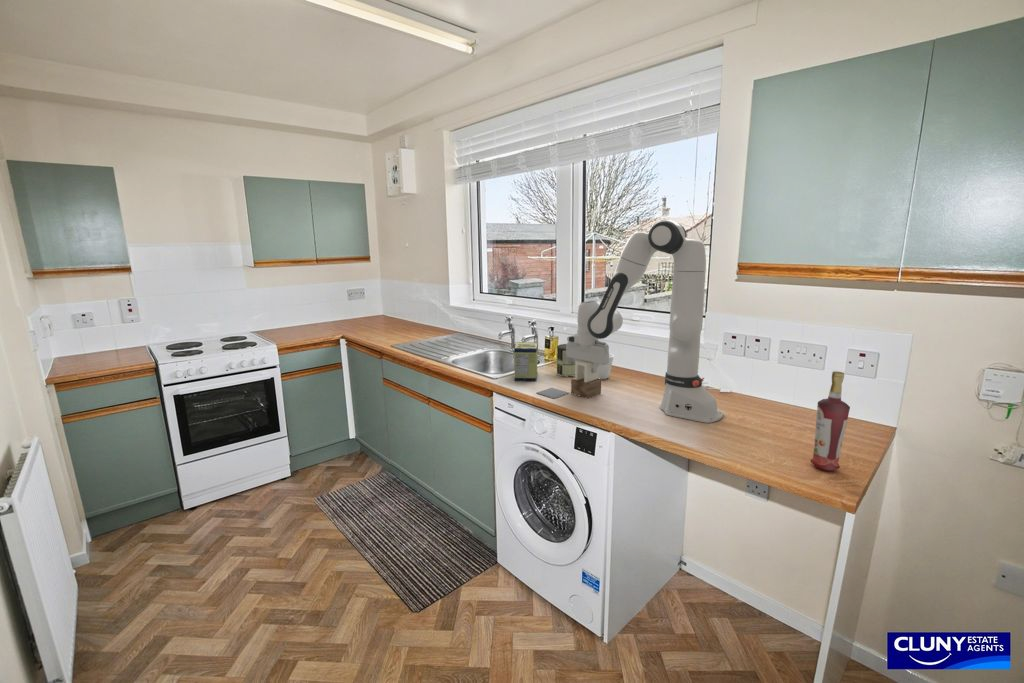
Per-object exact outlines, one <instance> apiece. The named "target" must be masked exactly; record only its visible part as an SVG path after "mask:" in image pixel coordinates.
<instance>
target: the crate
mask: <svg viewBox="0 0 1024 683" xmlns="http://www.w3.org/2000/svg"><path fill="white" fill-rule="evenodd" d="M570 380H571V384H570V393H573V394H572V395H574V394H576V395H575V396H578V395H580V396H579V397H581V396H584V397H583V398H585V397H587V398H586V399H590V398H589V397H591V398H593V397H595V395H596V396H598V395H601V394H602V380H603V379H599V378H598V379H595V380H593V381H590V382H587V383H586V382H584V378H582V379H579V380H575V378H571V379H570ZM600 393H601V394H600ZM597 394H598V395H597ZM592 396H593V397H592Z"/></svg>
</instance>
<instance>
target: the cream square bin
mask: <svg viewBox="0 0 1024 683" xmlns="http://www.w3.org/2000/svg"><path fill="white" fill-rule="evenodd" d="M594 366H595V365H594V363H592V362H587V361H583V360H578V361H575V376H574V379H575V380H579V379H582V378H584V382H586V383H587V382H590V381H593V380H595V379H598V368H597V372H596V373H592V372H591V369H592V368H594Z"/></svg>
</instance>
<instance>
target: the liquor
mask: <svg viewBox="0 0 1024 683" xmlns="http://www.w3.org/2000/svg"><path fill="white" fill-rule="evenodd" d="M844 377H845V373H844V372H842V371H837V370H835V371H832V372H831V386H830V388H829V389H830V390H829V392H828V396H827V398H822V399H821V400H819V401H817V408H816V409H817V410H816V418H815V434H814V444H813V446H814V447H813V452H812V453H813V454H812V458H811V459H810V462H811V464H812V465H813V466H814V467H815V468H816V469H818V470H819V471H823V472H829V473H830V472H834V471H837V470H839V469H840V468H841V466H840V464H839V461H840V456H841V451H842V446H843V440H844V436H845V433H846V432H845V431H846V429H847V428H846V427H847V425H848V419H849V413H850V408H851V406H850V405H849V404H847V403H846V402H845V401H843V400H842V388H843V386H842V385H843V381H844Z"/></svg>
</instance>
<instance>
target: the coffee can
mask: <svg viewBox="0 0 1024 683" xmlns="http://www.w3.org/2000/svg"><path fill="white" fill-rule="evenodd" d="M566 345H567V343H562V344H559V345H557V346H556V347H557V348H556V351H557V352H556V358H557V359H556V374H557V376H559V375H560V377H563V376H567V377H566V378H569V377H568V376H573V377H575V359H573V358H569V357H567V355H566Z"/></svg>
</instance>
